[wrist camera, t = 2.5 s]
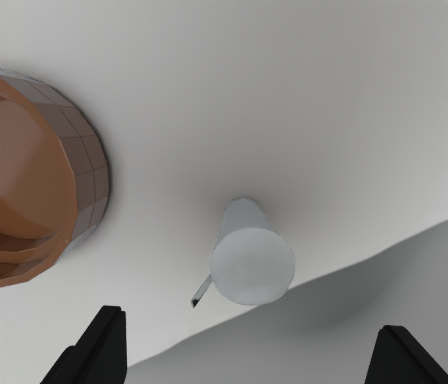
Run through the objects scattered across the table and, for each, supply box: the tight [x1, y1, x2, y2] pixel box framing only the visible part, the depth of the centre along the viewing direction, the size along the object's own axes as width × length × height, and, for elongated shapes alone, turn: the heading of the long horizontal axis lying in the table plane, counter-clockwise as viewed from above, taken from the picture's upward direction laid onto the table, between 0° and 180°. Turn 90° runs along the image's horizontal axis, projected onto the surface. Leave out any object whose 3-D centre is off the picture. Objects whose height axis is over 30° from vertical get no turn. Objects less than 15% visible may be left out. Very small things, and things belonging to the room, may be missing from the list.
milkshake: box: [191, 197, 295, 308], centre depth 16 cm, size 4×5×10 cm
